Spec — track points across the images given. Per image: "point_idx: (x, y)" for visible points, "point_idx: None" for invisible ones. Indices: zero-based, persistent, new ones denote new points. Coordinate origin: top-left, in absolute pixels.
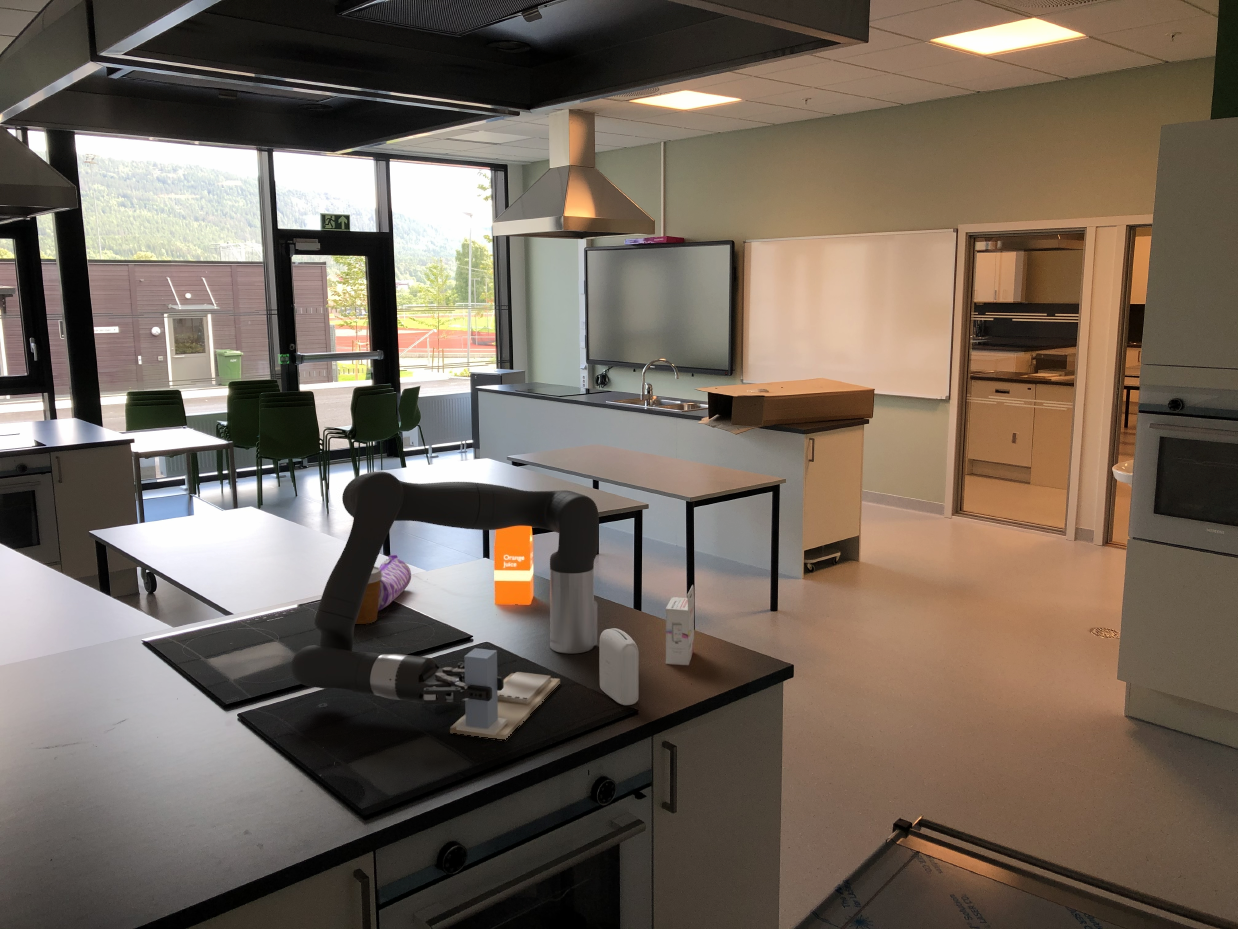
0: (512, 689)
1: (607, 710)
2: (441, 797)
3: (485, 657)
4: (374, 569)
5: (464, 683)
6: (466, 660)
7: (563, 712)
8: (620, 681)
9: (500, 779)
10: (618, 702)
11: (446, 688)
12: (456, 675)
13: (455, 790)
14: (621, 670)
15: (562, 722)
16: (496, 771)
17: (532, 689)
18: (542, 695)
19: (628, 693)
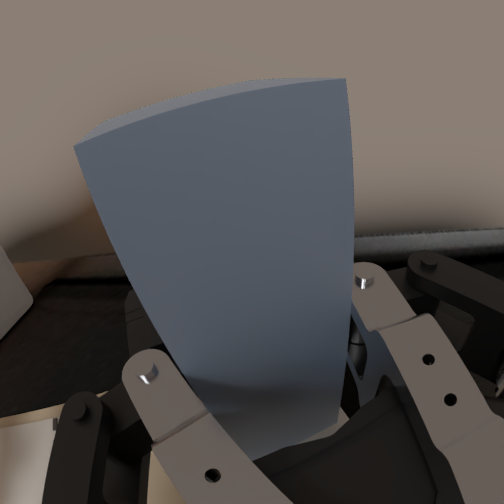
0: (18, 486)
1: (49, 309)
2: (479, 242)
3: (239, 83)
4: None
5: (356, 297)
6: (337, 115)
7: (69, 356)
8: (11, 269)
9: (379, 239)
10: (28, 307)
11: (482, 288)
12: (295, 486)
13: (457, 246)
14: (1, 251)
15: (112, 329)
16: (372, 258)
17: (8, 437)
18: (20, 416)
19: (22, 282)
